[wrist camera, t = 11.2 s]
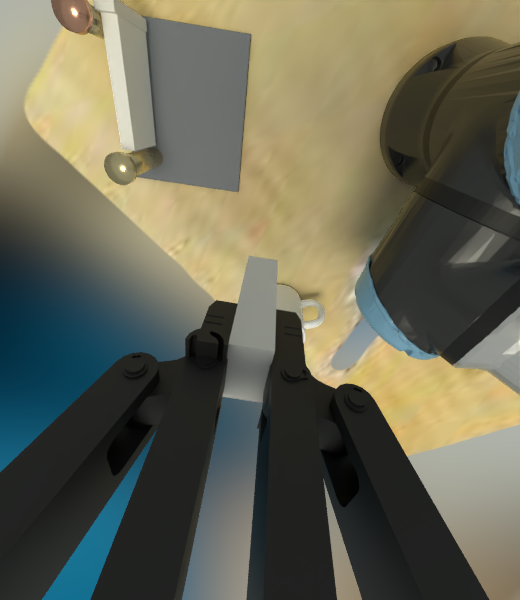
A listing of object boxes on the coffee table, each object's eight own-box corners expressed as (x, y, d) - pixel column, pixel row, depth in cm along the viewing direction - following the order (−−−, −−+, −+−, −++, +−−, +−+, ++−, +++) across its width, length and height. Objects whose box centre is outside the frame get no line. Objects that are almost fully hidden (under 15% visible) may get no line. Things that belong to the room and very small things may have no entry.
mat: (251, 35, 31) (250, 34, 30) (238, 191, 41) (237, 192, 40) (118, 13, 30) (115, 11, 30) (137, 176, 40) (135, 176, 40)
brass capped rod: (139, 24, 31) (82, -14, 22) (142, 56, 32) (90, 34, 23) (114, 20, 31) (46, -20, 22) (118, 52, 32) (56, 29, 23)
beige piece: (156, 145, 36) (133, 151, 30) (143, 143, 36) (117, 149, 30) (145, 19, 29) (112, -5, 24) (129, 17, 29) (91, -8, 24)
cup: (251, 288, 50) (246, 323, 42) (316, 273, 48) (324, 307, 39) (263, 322, 54) (261, 360, 46) (324, 310, 52) (333, 348, 44)
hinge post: (166, 145, 38) (132, 155, 29) (167, 170, 39) (136, 186, 31) (143, 141, 38) (101, 150, 29) (145, 167, 39) (107, 182, 30)
